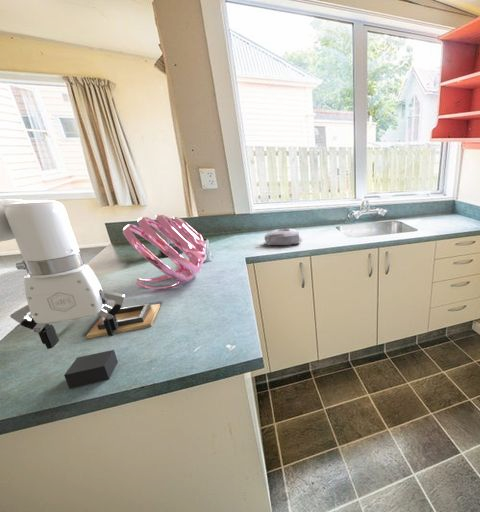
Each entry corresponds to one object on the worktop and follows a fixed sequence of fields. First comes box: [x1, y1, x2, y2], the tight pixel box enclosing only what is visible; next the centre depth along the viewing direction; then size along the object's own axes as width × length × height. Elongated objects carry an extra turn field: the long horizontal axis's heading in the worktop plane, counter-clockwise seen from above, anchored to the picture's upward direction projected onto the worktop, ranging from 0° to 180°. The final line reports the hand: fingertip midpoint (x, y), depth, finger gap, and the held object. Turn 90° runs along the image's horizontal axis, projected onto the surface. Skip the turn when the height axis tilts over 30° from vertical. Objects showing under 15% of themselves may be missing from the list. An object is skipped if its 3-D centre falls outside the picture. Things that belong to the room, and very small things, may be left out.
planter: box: [198, 238, 213, 263], centre depth 139 cm, size 4×4×10 cm
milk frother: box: [153, 227, 190, 258], centre depth 151 cm, size 14×16×15 cm
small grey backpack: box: [263, 228, 301, 246], centre depth 171 cm, size 15×8×20 cm
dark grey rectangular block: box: [63, 349, 119, 390], centre depth 66 cm, size 6×6×4 cm
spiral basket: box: [122, 214, 207, 291], centre depth 111 cm, size 28×28×27 cm
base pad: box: [86, 303, 161, 340], centre depth 88 cm, size 14×14×2 cm
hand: (84, 338), depth 64 cm, fingers open, 9 cm apart
